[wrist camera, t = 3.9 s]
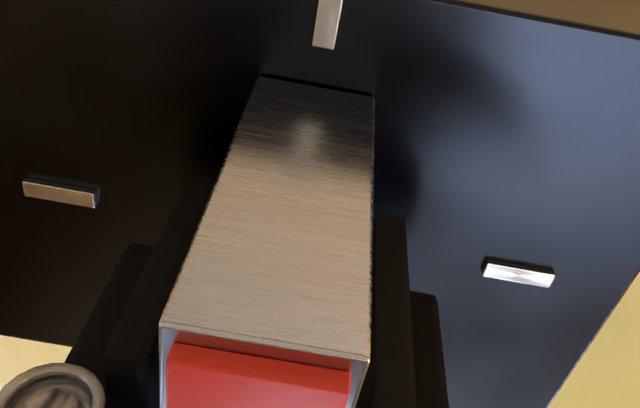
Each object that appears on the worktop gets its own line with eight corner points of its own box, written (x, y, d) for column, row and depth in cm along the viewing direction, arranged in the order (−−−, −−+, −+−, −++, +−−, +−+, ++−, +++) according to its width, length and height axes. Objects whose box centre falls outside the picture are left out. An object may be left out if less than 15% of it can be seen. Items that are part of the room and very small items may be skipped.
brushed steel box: (316, 344, 14) (283, 635, 9) (232, 330, 14) (156, 614, 9) (375, 96, 10) (371, 381, 5) (258, 74, 10) (147, 344, 5)
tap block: (46, 263, 17) (-11, 348, 15) (-26, -157, 11) (-150, -136, 8) (510, 343, 18) (532, 439, 15) (707, -18, 11) (804, 44, 9)
